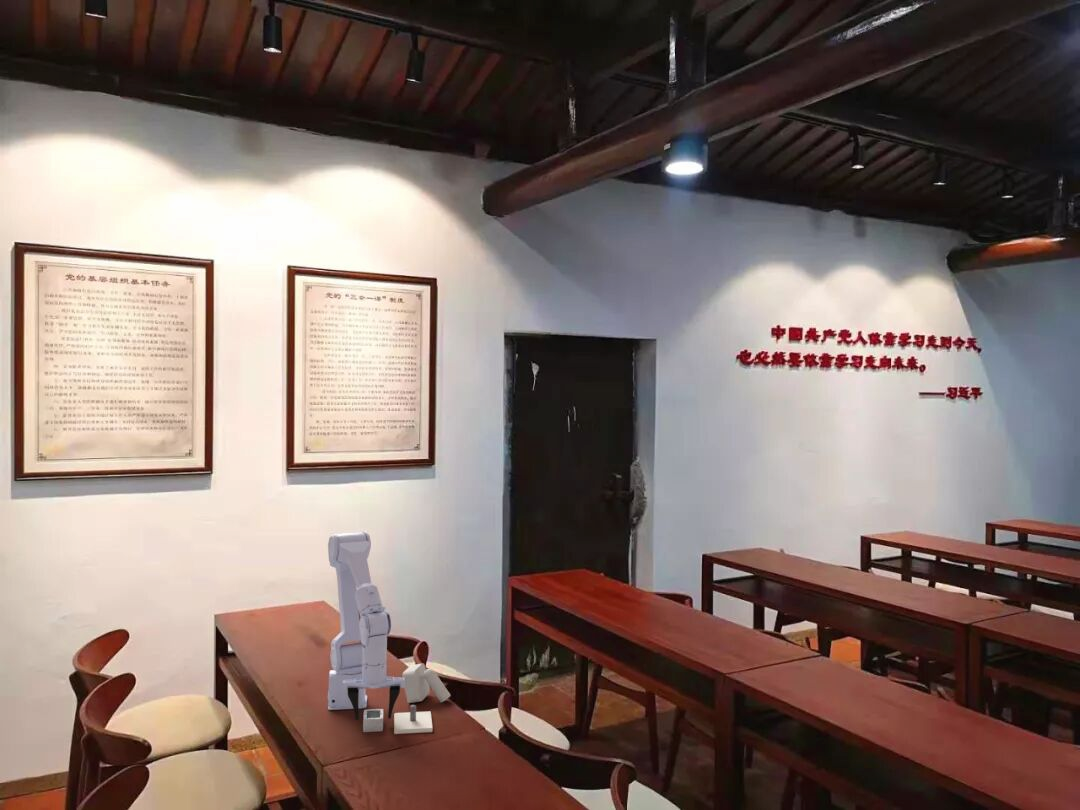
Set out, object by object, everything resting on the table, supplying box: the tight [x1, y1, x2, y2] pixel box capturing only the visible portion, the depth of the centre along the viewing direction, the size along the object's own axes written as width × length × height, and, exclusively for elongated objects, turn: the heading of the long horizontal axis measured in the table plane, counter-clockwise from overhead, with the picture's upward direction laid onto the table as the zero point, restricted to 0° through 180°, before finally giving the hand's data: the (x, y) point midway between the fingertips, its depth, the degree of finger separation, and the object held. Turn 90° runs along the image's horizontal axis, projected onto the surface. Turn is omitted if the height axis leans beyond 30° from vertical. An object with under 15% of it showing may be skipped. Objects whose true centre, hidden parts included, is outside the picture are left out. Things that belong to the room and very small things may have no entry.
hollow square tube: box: [362, 708, 384, 733], centre depth 196 cm, size 6×5×3 cm
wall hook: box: [402, 663, 451, 704], centre depth 213 cm, size 8×10×10 cm
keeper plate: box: [393, 704, 433, 735], centre depth 198 cm, size 9×10×4 cm
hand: (373, 717), depth 196 cm, fingers open, 7 cm apart
